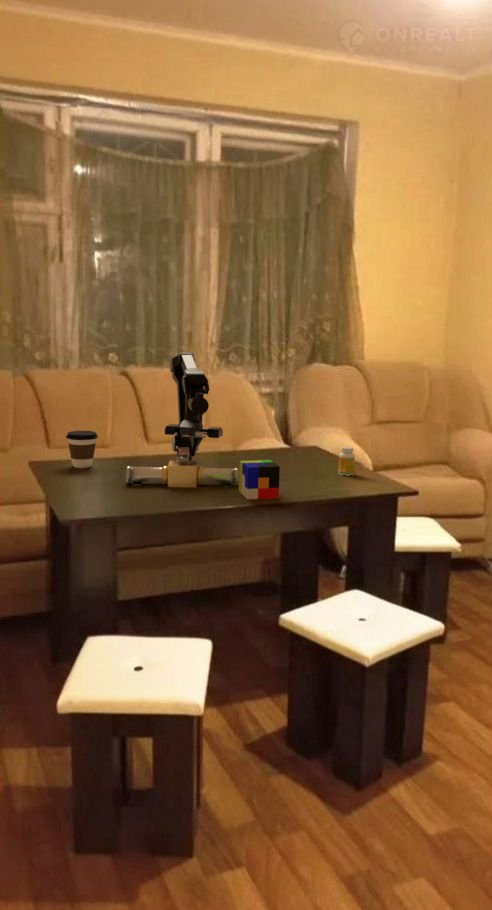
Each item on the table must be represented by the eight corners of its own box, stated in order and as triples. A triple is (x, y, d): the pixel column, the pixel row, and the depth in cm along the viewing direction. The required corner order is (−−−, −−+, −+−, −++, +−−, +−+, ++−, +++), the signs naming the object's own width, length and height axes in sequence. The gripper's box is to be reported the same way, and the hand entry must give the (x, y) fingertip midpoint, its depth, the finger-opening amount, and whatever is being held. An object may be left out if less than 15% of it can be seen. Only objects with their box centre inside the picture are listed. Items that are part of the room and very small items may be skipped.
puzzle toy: (247, 499, 242) (248, 467, 240) (238, 491, 251) (239, 460, 249) (278, 498, 245) (279, 466, 243) (269, 490, 254) (270, 459, 252)
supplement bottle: (346, 476, 276) (347, 449, 274) (335, 473, 280) (336, 446, 279) (356, 475, 280) (358, 447, 278) (345, 472, 284) (347, 445, 282)
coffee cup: (91, 470, 275) (91, 436, 272) (61, 468, 276) (61, 434, 274) (102, 464, 285) (102, 431, 283) (73, 462, 287) (72, 429, 285)
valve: (127, 480, 261) (127, 458, 260) (237, 482, 263) (237, 460, 262) (125, 486, 253) (125, 464, 252) (238, 488, 255) (238, 466, 254)
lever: (188, 463, 255) (188, 458, 255) (176, 463, 255) (177, 458, 255) (189, 454, 270) (189, 449, 270) (178, 453, 270) (178, 449, 270)
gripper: (159, 411, 257) (158, 458, 260) (214, 415, 253) (213, 463, 256) (170, 407, 268) (169, 452, 271) (223, 410, 264) (222, 456, 267)
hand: (193, 456), depth 266 cm, fingers closed
